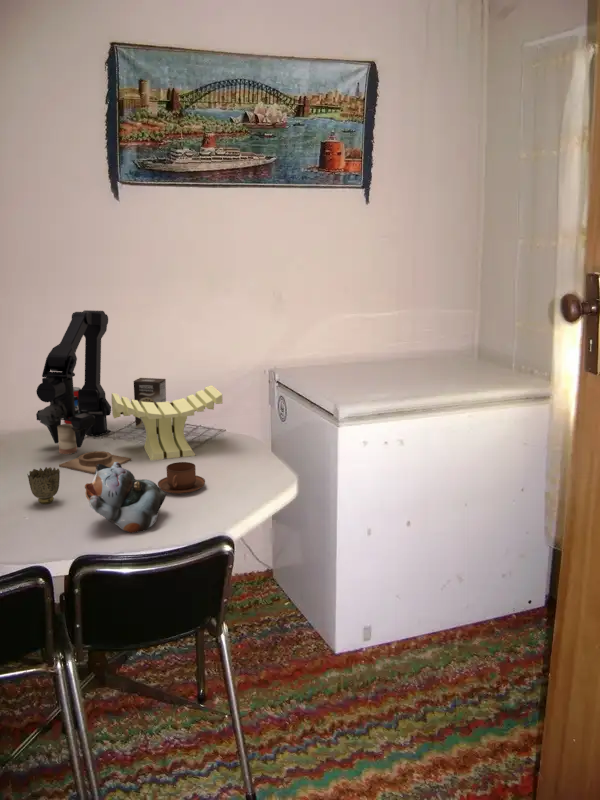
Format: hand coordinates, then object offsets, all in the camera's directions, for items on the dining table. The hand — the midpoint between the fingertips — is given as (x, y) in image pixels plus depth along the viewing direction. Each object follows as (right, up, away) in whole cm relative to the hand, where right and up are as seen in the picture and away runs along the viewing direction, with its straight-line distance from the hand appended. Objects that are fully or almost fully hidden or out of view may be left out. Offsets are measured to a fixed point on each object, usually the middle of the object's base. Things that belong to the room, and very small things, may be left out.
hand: (67, 445), depth 223 cm
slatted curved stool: (+30, -2, +2) cm, 30 cm away
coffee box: (+20, +4, +27) cm, 34 cm away
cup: (+7, -12, -39) cm, 41 cm away
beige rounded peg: (0, -2, +1) cm, 2 cm away
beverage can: (-7, +5, +31) cm, 33 cm away
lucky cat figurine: (+29, -15, -51) cm, 61 cm away
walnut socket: (+11, -5, -10) cm, 16 cm away
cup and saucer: (+39, -10, -30) cm, 50 cm away
